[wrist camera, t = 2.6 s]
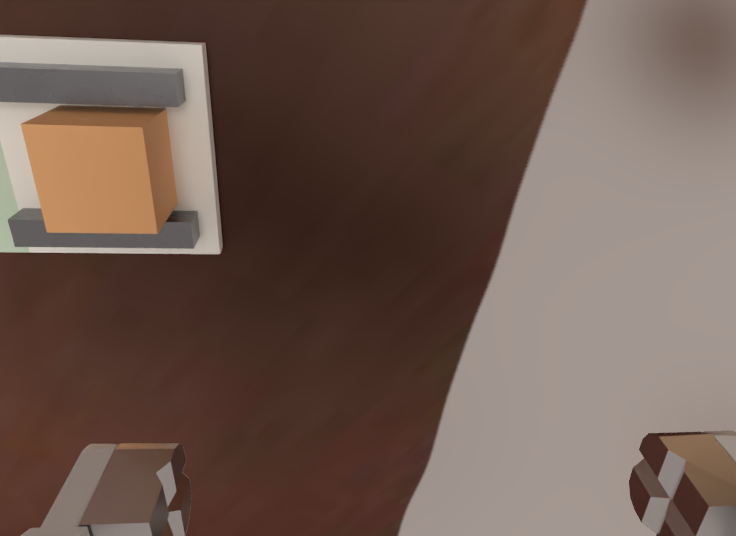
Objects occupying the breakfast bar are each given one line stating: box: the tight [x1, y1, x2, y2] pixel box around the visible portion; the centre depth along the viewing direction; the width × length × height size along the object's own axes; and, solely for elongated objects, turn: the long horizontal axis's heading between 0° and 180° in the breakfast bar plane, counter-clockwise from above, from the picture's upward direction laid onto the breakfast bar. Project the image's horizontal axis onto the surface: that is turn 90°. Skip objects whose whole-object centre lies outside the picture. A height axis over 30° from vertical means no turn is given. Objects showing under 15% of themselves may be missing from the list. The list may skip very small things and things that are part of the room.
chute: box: [0, 35, 223, 254], centre depth 28 cm, size 17×11×3 cm, turn 87°
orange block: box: [21, 105, 178, 234], centre depth 26 cm, size 5×5×4 cm
